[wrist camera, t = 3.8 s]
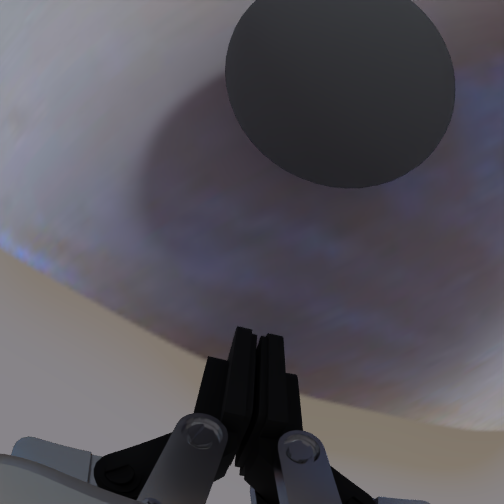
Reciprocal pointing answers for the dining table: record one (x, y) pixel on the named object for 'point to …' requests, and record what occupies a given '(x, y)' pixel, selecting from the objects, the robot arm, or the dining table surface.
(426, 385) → the dining table surface
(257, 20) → the dark grey ball
